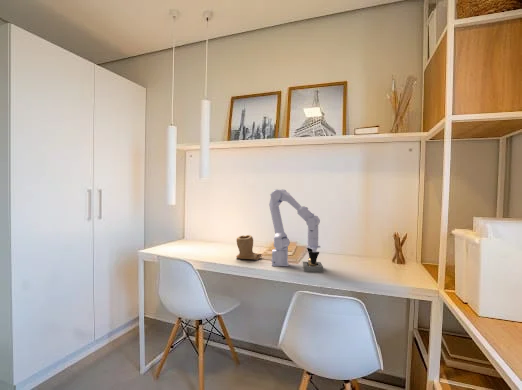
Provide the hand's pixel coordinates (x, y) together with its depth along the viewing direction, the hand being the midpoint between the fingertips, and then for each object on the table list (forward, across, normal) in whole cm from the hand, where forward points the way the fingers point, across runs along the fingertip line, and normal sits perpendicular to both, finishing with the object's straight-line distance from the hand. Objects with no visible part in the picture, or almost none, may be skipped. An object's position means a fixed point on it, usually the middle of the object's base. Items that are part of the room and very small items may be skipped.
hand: (312, 262), depth 156 cm
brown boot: (+4, +20, +38) cm, 43 cm away
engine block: (+4, 0, 0) cm, 4 cm away
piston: (+4, 0, 0) cm, 4 cm away
